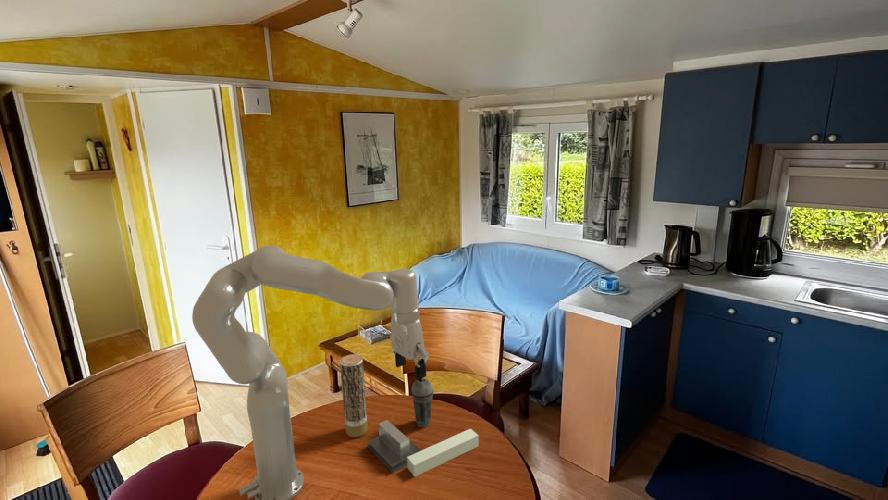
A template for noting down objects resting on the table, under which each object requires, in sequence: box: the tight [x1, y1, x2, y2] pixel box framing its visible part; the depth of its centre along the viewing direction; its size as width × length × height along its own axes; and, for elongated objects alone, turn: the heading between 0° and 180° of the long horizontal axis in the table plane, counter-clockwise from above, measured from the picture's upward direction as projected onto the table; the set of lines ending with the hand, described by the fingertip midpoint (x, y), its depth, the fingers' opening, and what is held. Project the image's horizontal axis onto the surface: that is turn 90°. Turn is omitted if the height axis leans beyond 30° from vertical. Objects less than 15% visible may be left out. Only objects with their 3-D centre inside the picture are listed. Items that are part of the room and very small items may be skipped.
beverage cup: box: [410, 377, 434, 428], centre depth 141 cm, size 7×7×20 cm
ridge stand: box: [367, 419, 422, 474], centre depth 129 cm, size 10×14×7 cm
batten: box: [406, 428, 480, 478], centre depth 127 cm, size 22×4×4 cm, turn 123°
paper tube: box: [339, 353, 368, 438], centre depth 136 cm, size 7×7×25 cm
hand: (410, 371), depth 123 cm, fingers open, 9 cm apart
